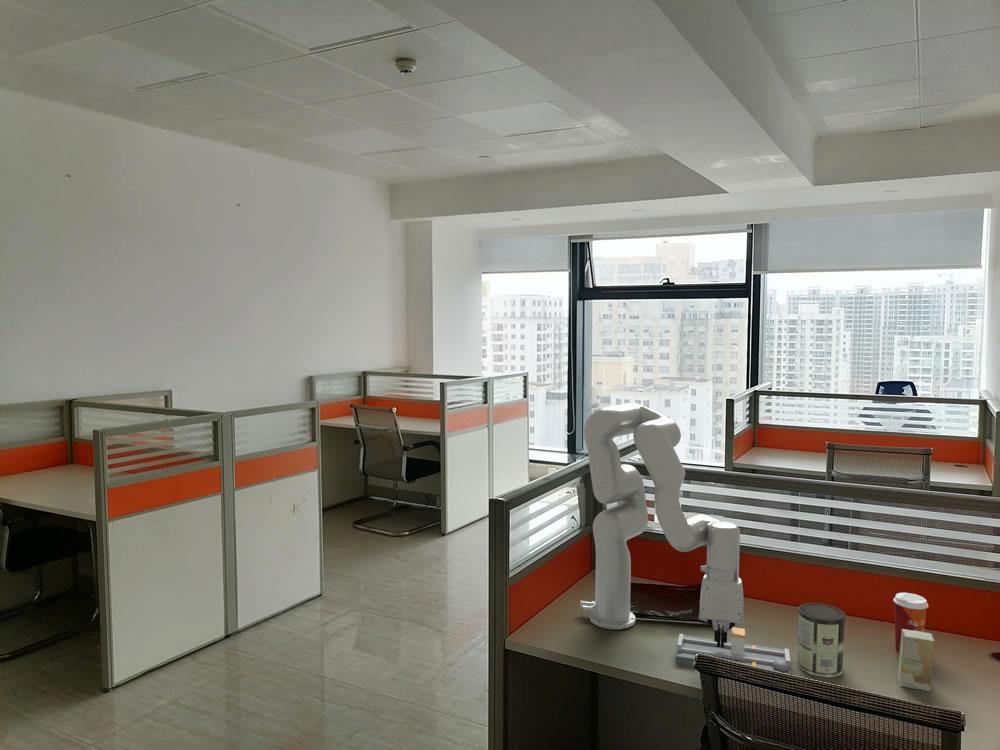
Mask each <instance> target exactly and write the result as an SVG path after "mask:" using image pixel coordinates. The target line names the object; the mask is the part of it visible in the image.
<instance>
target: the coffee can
mask: <svg viewBox="0 0 1000 750" xmlns="http://www.w3.org/2000/svg"><path fill="white" fill-rule="evenodd" d="M845 620H846V613H845V612H844V611H843V610H842V609H841V608H838V607H837V606H833V605H830V604H826V603H821V602H819V603H818V602H806V603H802V604H801V605H799V606H798V632H797V636H798V637H797V661H796V664H798V665H797V666H799V667H800V668H799V667H798V668H799V669H800V670H801V669H802V671H803V672H804V671H805V673H807V674H809V675H812V676H815V677H820V678H829V679H830V678H837V677H839V676H841V675H842V674H843V672H844V670H843V668H844V667H843V664H844V661H843V660H844V638H845V635H844V634H845Z"/></svg>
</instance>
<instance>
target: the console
mask: <svg viewBox="0 0 1000 750" xmlns="http://www.w3.org/2000/svg"><path fill="white" fill-rule="evenodd" d="M731 643H732V641H727V643H724V648H722V647H721V641H720V646H719V647H717V642H715V641H714V639H713V638H706V637H705V638H704V637H700V636H692V635H685V634H684V633H679V635H678V640H677V645H676V654H675V664H676V665H681V666H687V667H688V666H689V667H693V662H694V659H695V656H696V654H698V653H702V654H707V655H711V656H714V657H718V658H721V659H726V660H730V661H735V662H740V663H744V664H749V665H752V666H757V667H760V668H765V669H770V670H774V671H779V672H782V673H788V674H790V675H791V655H790V649H789V648H787V647H786V648H777V647H776V648H775V647H769V646H761V645H754V644H748V643H745V645H744V657H743V656H736V655H731Z"/></svg>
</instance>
